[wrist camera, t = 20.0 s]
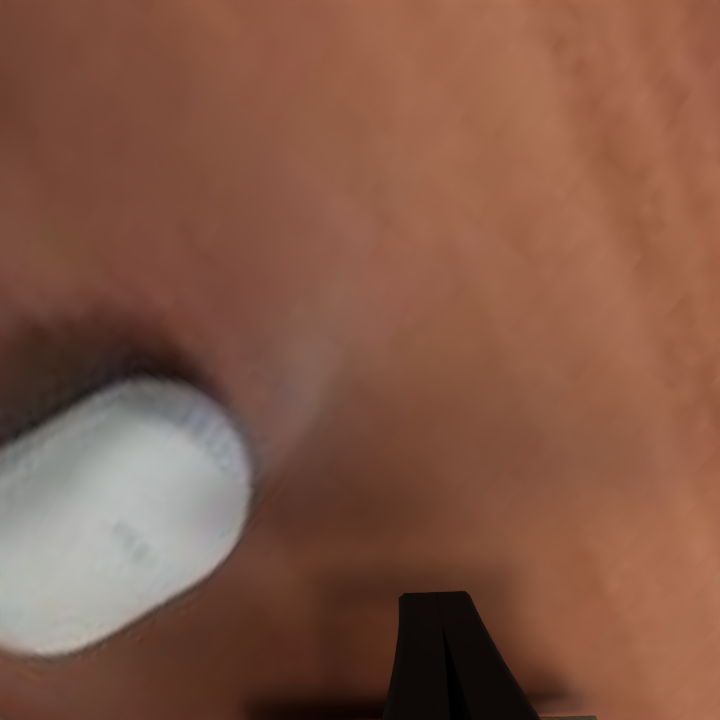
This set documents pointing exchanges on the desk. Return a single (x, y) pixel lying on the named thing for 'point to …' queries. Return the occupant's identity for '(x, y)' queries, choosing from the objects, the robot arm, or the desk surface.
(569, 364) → the desk surface
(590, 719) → the drawer
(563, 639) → the desk surface
